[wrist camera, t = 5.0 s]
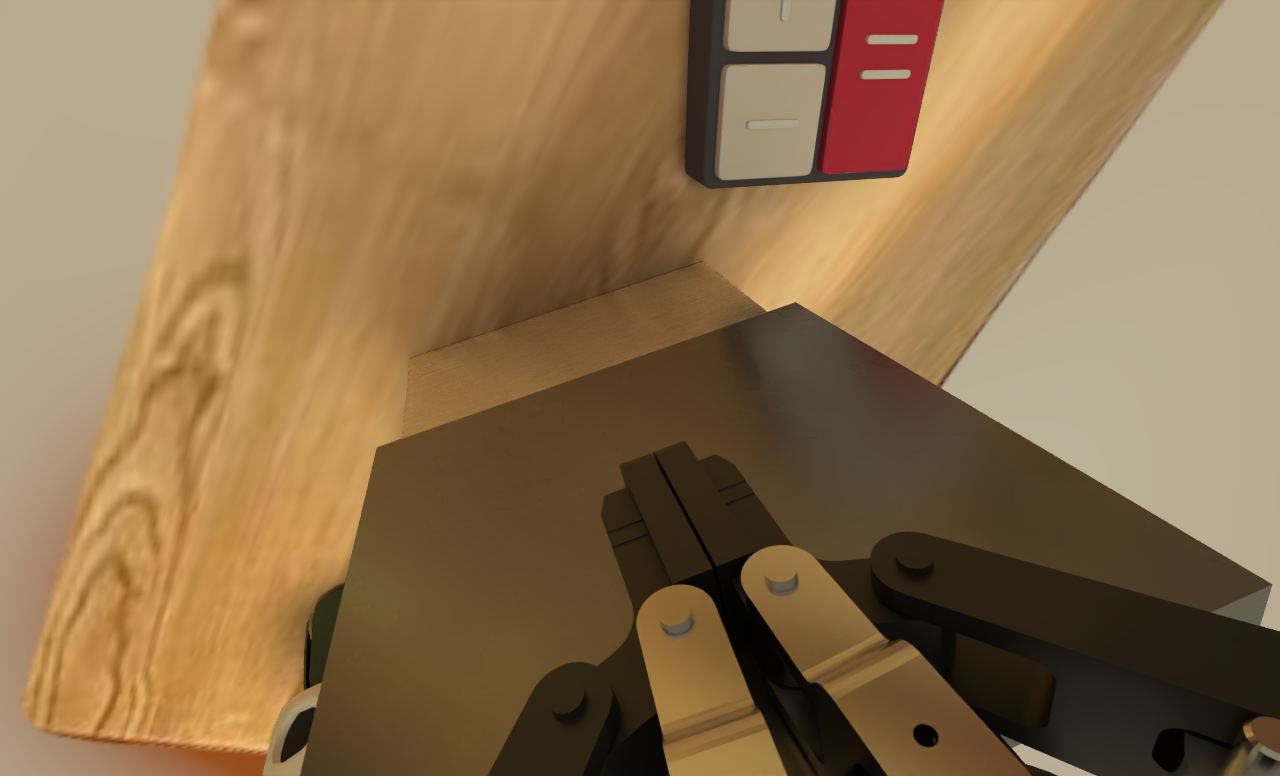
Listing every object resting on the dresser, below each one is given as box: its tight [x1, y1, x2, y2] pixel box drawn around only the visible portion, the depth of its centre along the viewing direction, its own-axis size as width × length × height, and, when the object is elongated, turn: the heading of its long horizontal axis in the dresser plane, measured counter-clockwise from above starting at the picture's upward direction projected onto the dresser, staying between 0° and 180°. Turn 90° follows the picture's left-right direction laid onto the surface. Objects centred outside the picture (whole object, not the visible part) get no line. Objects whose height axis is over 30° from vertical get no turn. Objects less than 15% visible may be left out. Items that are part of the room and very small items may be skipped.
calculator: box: [685, 0, 944, 189], centre depth 28 cm, size 11×4×15 cm
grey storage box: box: [402, 261, 767, 439], centre depth 33 cm, size 16×16×10 cm
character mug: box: [262, 589, 344, 776], centre depth 33 cm, size 11×7×13 cm, turn 147°
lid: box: [300, 302, 1272, 776], centre depth 16 cm, size 18×17×1 cm
